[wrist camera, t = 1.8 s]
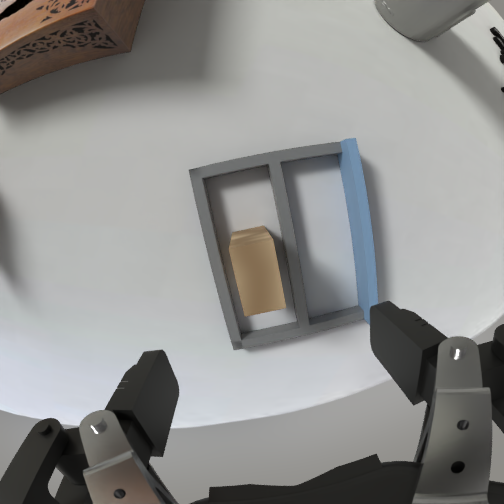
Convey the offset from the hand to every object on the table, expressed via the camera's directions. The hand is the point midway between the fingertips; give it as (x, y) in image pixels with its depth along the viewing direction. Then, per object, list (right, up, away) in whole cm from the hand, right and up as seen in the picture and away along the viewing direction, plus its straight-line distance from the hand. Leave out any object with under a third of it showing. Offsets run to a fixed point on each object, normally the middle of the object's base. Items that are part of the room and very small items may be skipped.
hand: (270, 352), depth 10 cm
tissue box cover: (-26, +33, +10) cm, 43 cm away
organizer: (+3, +4, +17) cm, 18 cm away
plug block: (-1, +4, +17) cm, 17 cm away
